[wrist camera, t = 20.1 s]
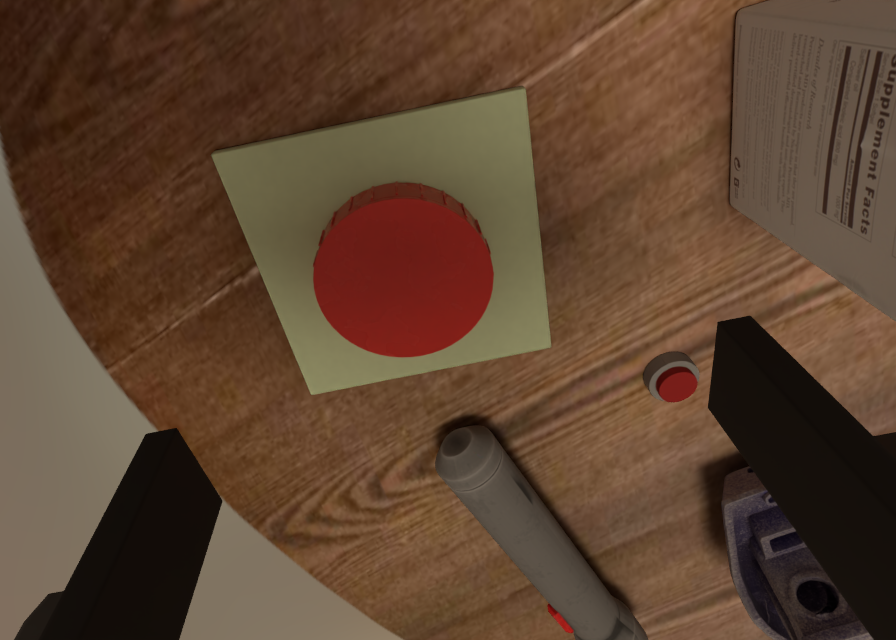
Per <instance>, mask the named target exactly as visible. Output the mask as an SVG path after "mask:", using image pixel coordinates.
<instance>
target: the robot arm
mask: <svg viewBox="0 0 896 640" xmlns="http://www.w3.org/2000/svg"><path fill="white" fill-rule="evenodd" d="M708 408H709V410H710V411H711V413H712V414H713V415H714V417H715V418H716V420H717V421H718V422H719V424H720V425H721V427H722V428H723V429H724V431H725V432H726V434H727V435H728V436H729V438H730V439H731V441H732V442H733V443H734V445H735V446H736V448H737V449H738V450H739V452H740V453H741V455H742V456H743V457H744V459H745V460H746V462H747V463H748V464H749V466H750V467H751V469H752V470H753V471H754V473H755V474H756V476H757V477H758V479H759V480H760V481H761V483H762V484H763V486H764V487H765V488H766V490H767V491H768V493H769V494H770V495H771V497H772V498H773V500H774V501H775V502H776V504H777V505H778V507H779V508H780V509H781V511H782V512H783V514H784V515H785V516H786V518H787V519H788V521H789V522H790V523H791V525H792V526H793V528H794V529H795V530H796V532H797V533H798V535H799V536H800V537H801V539H802V540H803V542H804V543H805V544H806V546H807V547H808V549H809V550H810V551H811V553H812V554H813V556H814V557H815V558H816V560H817V561H818V563H819V564H820V565H821V567H822V568H823V570H824V571H825V572H826V574H827V575H828V577H829V578H830V579H831V581H832V582H833V584H834V585H835V586H836V588H837V589H838V591H839V592H840V593H841V595H842V596H843V598H844V599H845V600H846V602H847V603H848V605H849V606H850V607H851V609H852V610H853V612H854V613H855V614H856V616H857V617H858V619H859V620H860V621H861V623H862V624H863V626H864V627H865V628H866V630H867V631H868V633H869V634H870V635H871V637H872V638H873V640H896V432H894V433H889V434H883V435H878V436H872V435H871V434H870V433H869V432H868V431H867V430H866V429H865V428H864V427H863V426H862V425H861V424H860V423H859V422H858V421H857V420H856V419H855V418H854V417H853V416H852V415H851V414H850V413H849V412H848V411H847V410H846V409H845V408H844V407H843V406H842V405H841V404H840V403H839V402H838V401H837V400H836V399H835V398H834V397H833V396H832V395H831V394H830V393H829V392H828V391H827V390H826V389H825V388H824V387H823V386H821V385H820V384H819V383H818V382H817V381H816V380H815V379H814V378H813V377H812V376H811V375H810V374H809V373H808V372H807V371H806V370H805V369H804V368H803V367H802V366H801V365H800V364H799V363H798V362H797V361H796V360H795V359H794V358H793V357H792V356H791V355H790V354H789V353H788V352H787V351H786V350H785V349H784V348H783V347H782V346H781V345H780V344H779V343H778V342H777V341H776V340H775V339H774V338H773V337H772V336H770V335H769V334H768V333H767V332H766V331H765V330H764V329H763V328H762V327H761V326H760V325H759V324H758V323H757V322H756V321H755V320H754V319H753V318H752V317H751V316H746V317H741V318H736V319H730V320H725V321H720V322H718V325H717V333H716V342H715V351H714V359H713V368H712V377H711V385H710V394H709V403H708ZM221 504H222V499H221V498H220V496H219V494H218V493H217V491H216V490H215V488H214V487H213V485H212V483H211V482H210V480H209V479H208V477H207V475H206V474H205V472H204V471H203V469H202V468H201V466H200V464H199V463H198V461H197V460H196V458H195V456H194V455H193V453H192V452H191V450H190V448H189V447H188V445H187V444H186V442H185V441H184V439H183V437H182V436H181V434H180V433H179V431H178V429H177V428H174V429H169V430H164V431H159V432H153V433H148V434H146V435H145V437H144V439H143V440H142V442H141V444H140V446H139V448H138V450H137V452H136V454H135V456H134V458H133V459H132V461H131V463H130V465H129V467H128V469H127V471H126V473H125V475H124V477H123V479H122V481H121V483H120V485H119V486H118V488H117V490H116V492H115V494H114V496H113V498H112V500H111V502H110V504H109V506H108V508H107V510H106V512H105V513H104V515H103V517H102V519H101V521H100V523H99V525H98V527H97V529H96V531H95V532H94V534H93V536H92V538H91V540H90V542H89V544H88V546H87V548H86V550H85V552H84V554H83V555H82V557H81V559H80V561H79V563H78V565H77V567H76V569H75V571H74V573H73V575H72V577H71V578H70V581H69V582H68V584H67V586H66V588H65V590H64V591H62V592H56V593H51V594H48V595H47V596H46V597H45V599H44V600H43V601H42V602H41V603H40V604H39V606H38V607H37V608H36V609H35V610H34V611H33V612H32V613H31V615H30V616H29V617H28V618H27V619H26V620H25V621H24V623H23V625H22V627H21V629H20V630H19V632H18V634H17V636H16V637H15V639H14V640H179V638H180V635H181V632H182V628H183V625H184V622H185V619H186V616H187V613H188V609H189V606H190V603H191V600H192V597H193V593H194V590H195V587H196V584H197V581H198V577H199V574H200V571H201V568H202V565H203V561H204V558H205V555H206V552H207V549H208V545H209V542H210V539H211V536H212V533H213V530H214V526H215V523H216V520H217V517H218V514H219V510H220V507H221Z"/></svg>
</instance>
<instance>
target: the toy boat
mask: <svg viewBox="0 0 896 640" xmlns="http://www.w3.org/2000/svg"><path fill="white" fill-rule="evenodd" d="M722 498H723V499H722V502H721V507H722V515H723V524H724V531H725V537H726V545H727V553H728V559H729V567H730V572H731V576H732V579H733V582H734V585H735V587H736V589H737V592H738V594H739V596H740V598H741V601H742V603H743V605H744V607H745V609H746V610H747V612H748V614H749V616H750V618H751V619H752V621H753V622H754V623H755V624H756V625H757V626H758V628H760V629H761V630H762V631H763V632H764V633H765V634H767V635H768V636H769V637H771V638H772V639H773V640H873V638H872V637H871V635H870V634H869V633H868V631H867V630H866V628H865V627H864V626H863V624H862V623H861V621H860V620H859V619H858V617H857V616H856V614H855V613H854V612H853V610H852V609H851V607H850V606H849V605H848V603H847V602H846V600H845V599H844V598H843V596H842V595H841V593H840V592H839V591H838V589H837V588H836V586H835V585H834V584H833V582H832V581H831V579H830V578H829V577H828V575H827V574H826V572H825V571H824V570H823V568H822V567H821V565H820V564H819V563H818V561H817V560H816V558H815V557H814V556H813V554H812V553H811V551H810V550H809V549H808V547H807V546H806V544H805V543H804V542H803V540H802V539H801V537H800V536H799V535H798V533H797V532H796V530H795V529H794V528H793V526H792V525H791V523H790V522H789V521H788V519H787V518H786V516H785V515H784V514H783V512H782V511H781V509H780V508H779V507H778V505H777V504H776V502H775V501H774V500H773V498H772V497H771V495H770V494H769V493H768V491H767V490H766V488H765V487H764V486H763V484H762V483H761V481H760V480H759V479H758V477H757V476H756V474H755V473H754V471H753V470H752V469H751V467H750V466H749V467H746V468H743V469H740V470H737V471H734V472H732V473H729V474H728V475H727V476H726V477H725V480H724V488H723V496H722Z"/></svg>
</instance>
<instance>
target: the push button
mask: <svg viewBox="0 0 896 640" xmlns="http://www.w3.org/2000/svg"><path fill="white" fill-rule="evenodd" d="M643 377H644V378H643V379H644V383H645V385H646V386H647V388H648V390H649V391H650V393H651V394H652V396H653V397H655V398H657V399H659V400H662V401H663V400H664V401H668V402H679V401H682V400H684V399H686V398H688V397H689V396H691V394H693V393H694V391H695V390H696V388H697V383H698V381H699V370H698V369H697V367H696V365H695V364H694V363H693V362H692V360H691V359H690V358H689V357H688V356H687V355H685V354H683V353H680V352H668V353H664V354H662V355H660V356H657V357H656V358H655V359H653V360H652V361H651V362H650V363H649V364H648V366H647V367H646V369H645V372H644V374H643Z"/></svg>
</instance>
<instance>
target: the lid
mask: <svg viewBox="0 0 896 640" xmlns="http://www.w3.org/2000/svg"><path fill="white" fill-rule="evenodd" d="M318 246H319V249H318V250H317V252H316V256H315V259H314V263H313V267H314V271H313V283H314V292H315V295H316V299H317V302H318V304H319V307H320V309H321V311H322V313H323V315H324V316H325V318H326V319H327V321H328V322H329V323H330V325H331V326H332V327H333V328H334V329H335V330H336V331H337V332H338V333H339V334H340V335H341V336H342V337H344V338H345V339H346V340H348V341H349V342H351V343H352V344H354V345H356V346H358V347H360V348H362V349H364V350H367V351H369V352H372V353H375V354H379V355H384V356H389V357H417V356H423V355H427V354H431V353H435V352H437V351H440V350H443V349H445V348H447V347H449V346H451V345H453V344H454V343H456V342H457V341H459V340H460V339H462V338H463V337H464V336H465V335H467V334H468V333H469V332H470V331H471V330H472V329H473V328H474V327H475V326H476V324H477V323H478V322H479V320H480V319H481V318H482V316H483V314H484V312H485V310H486V309H487V306H488V304H489V301H490V298H491V294H492V290H493V280H494V271H493V265H492V261H491V257H490V254H491V251H490V248H489V245H488V243H487V240H486V238H485V239H484V236H483V234H482V231H481V228H480V225H479V223H478V220H477V219H476V220H475V219H474V217H473V216H472V215H471V213H470V212H469V211H468V210H467V209H466V208H465V207H464V204H463V203H460V202H458V201H457V200H456V199H455V198H453V197H452V196H450V195H448V194H446V193H445V191H444V190H442V191H440V190H438V189H435V188H433V187H430V186H426V185H422V183H420V184H416V183H398V181H396V182H395V183H389V184H383V185H379V186H376V187H374V186H372V188H370V189H367V190H365V191H363V192H361V193H359V194H357V195H356V196H354V197H353V196H351V197H350V200H348V201H347V202H346V203H344V204H343V205H342V206H341V207H340V208H339V209H338V210H337V211H336V212H335V211H334V213H333V217H332V218H331V219H330V221H329V223H328V224H327V226H326V228H325V230H323V231H322V234H321V237H320V241H319V244H318Z"/></svg>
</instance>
